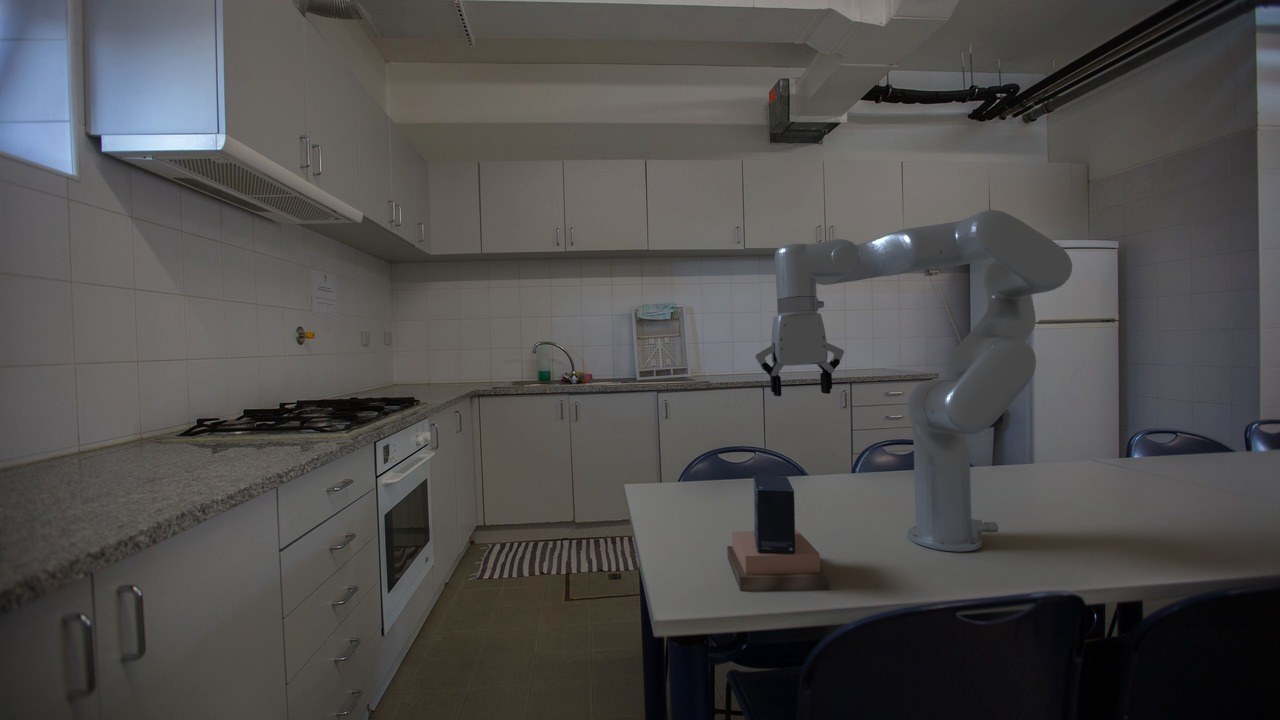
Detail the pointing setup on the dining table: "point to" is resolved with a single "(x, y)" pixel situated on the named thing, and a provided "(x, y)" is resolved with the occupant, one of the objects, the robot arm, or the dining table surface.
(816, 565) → the terracotta slab
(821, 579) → the walnut slab
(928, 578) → the dining table surface
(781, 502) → the small box
